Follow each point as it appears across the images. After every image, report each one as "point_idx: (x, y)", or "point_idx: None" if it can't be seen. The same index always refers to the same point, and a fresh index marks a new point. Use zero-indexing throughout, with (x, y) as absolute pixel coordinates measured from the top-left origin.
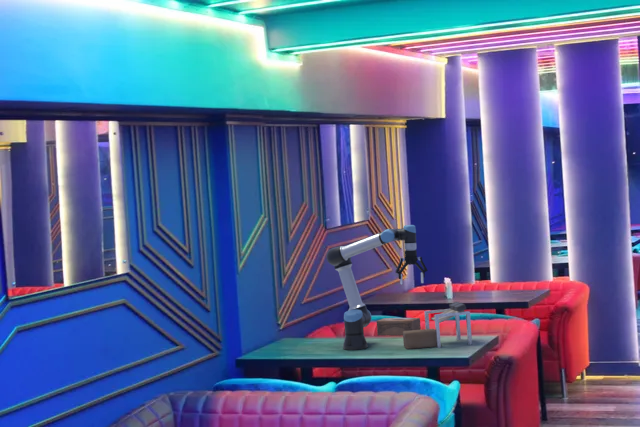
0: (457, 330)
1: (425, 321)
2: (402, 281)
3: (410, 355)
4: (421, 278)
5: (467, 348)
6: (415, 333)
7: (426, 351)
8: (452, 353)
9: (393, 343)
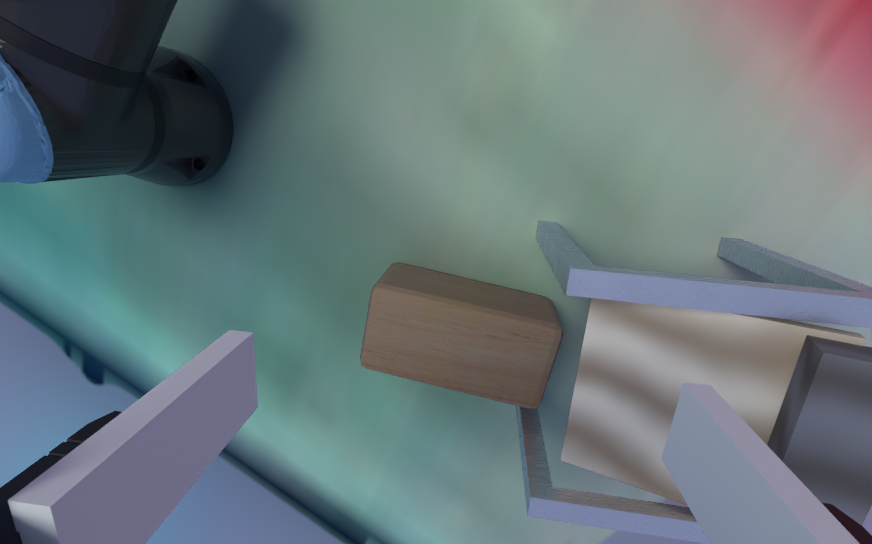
0: (751, 270)
1: (554, 258)
2: (223, 445)
3: (348, 462)
4: (728, 486)
5: (609, 482)
6: (415, 379)
7: (435, 430)
8: (501, 530)
9: (385, 106)
